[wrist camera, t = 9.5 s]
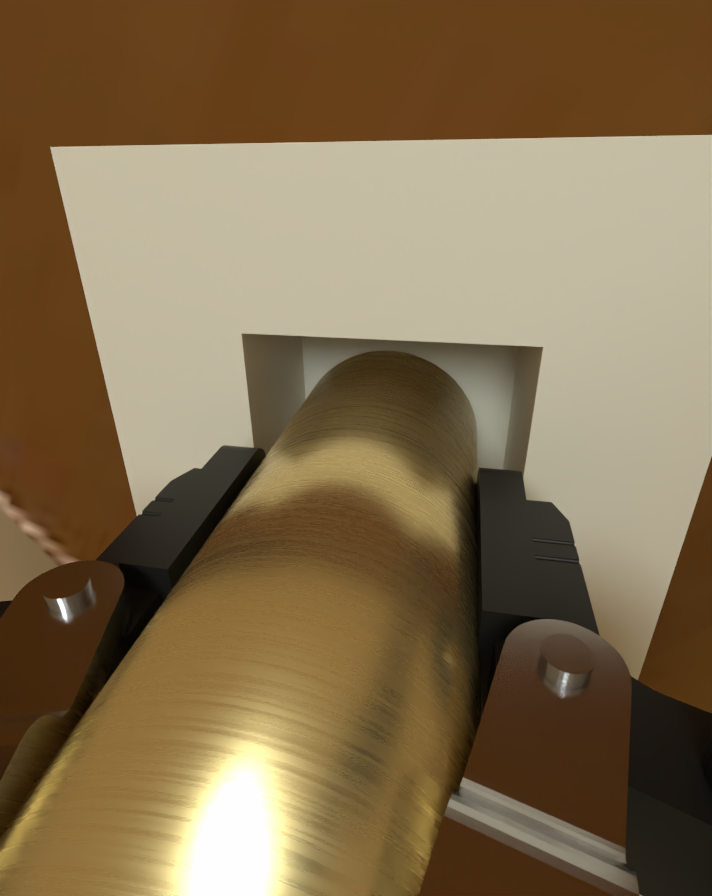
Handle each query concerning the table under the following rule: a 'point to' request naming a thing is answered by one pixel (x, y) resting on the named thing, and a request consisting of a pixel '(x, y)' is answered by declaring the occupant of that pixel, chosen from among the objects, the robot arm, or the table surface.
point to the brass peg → (290, 673)
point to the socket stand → (423, 313)
